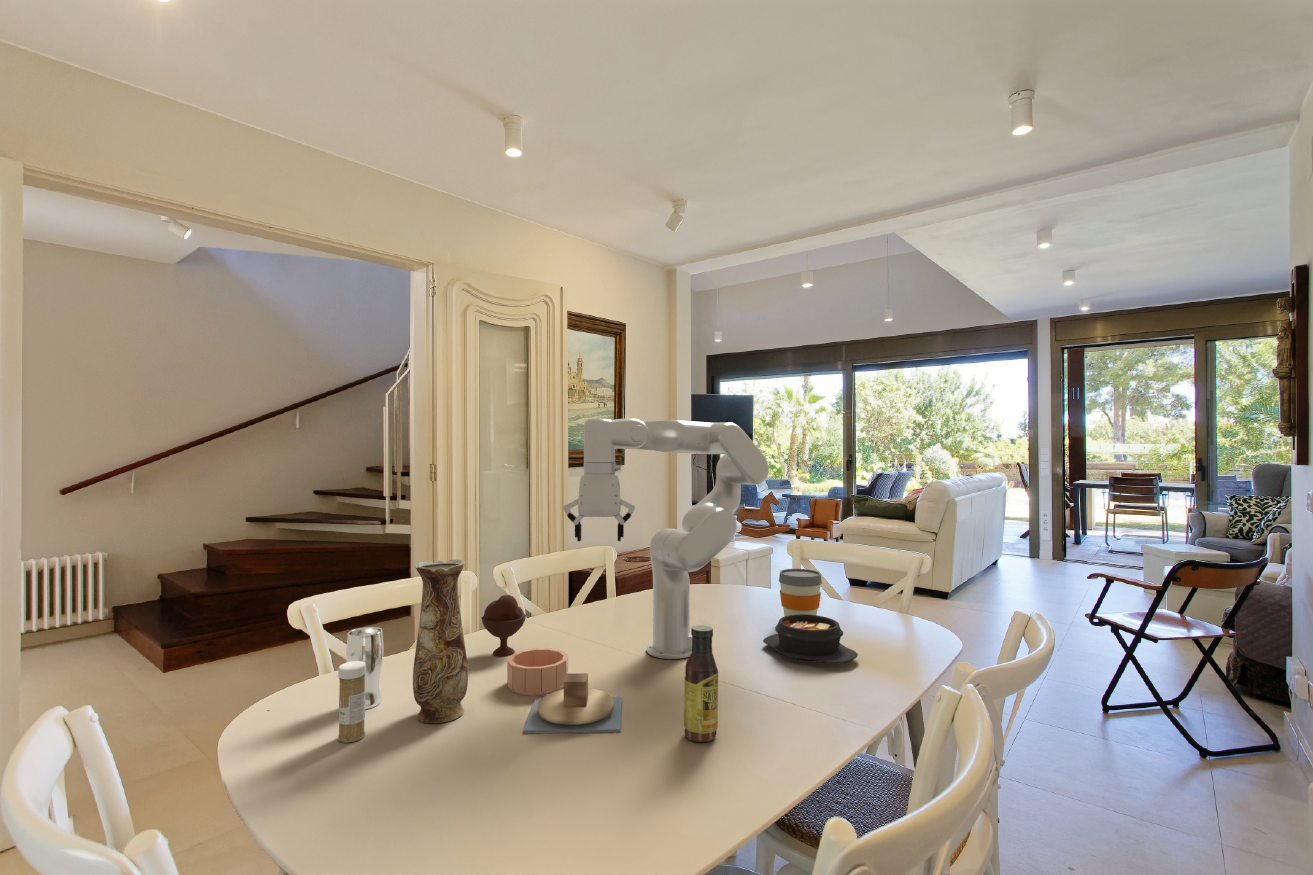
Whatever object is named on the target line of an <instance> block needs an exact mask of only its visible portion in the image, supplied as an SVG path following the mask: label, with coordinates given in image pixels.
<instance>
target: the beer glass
mask: <svg viewBox="0 0 1313 875" xmlns="http://www.w3.org/2000/svg"><path fill="white" fill-rule="evenodd" d="M346 640H347V641H346V651H345V652H346V663H347V662H352V661H362V662H364V663H365V664H366V673H365V711H366V710H370V709H373V708H375V707H377V706H379V705H380V704H381V702H382V698H381V697H382V696H381V692H380V679H381V673H382V666H383V659H384V637H383V628H381V627H378V626H365V627H358V628H355V629H352V630H350V631H348V632H347V639H346Z"/></svg>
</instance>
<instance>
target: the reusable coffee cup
mask: <svg viewBox="0 0 1313 875" xmlns="http://www.w3.org/2000/svg"><path fill="white" fill-rule="evenodd" d="M778 582H779V584H780V590H779V595H780V596H779V597H780V603H781V607H782V608H783V609H782V610H783V614H784V616H783V617H785V616H789V615H799V614H806V615H817V614H818V610H819V608H820V604H821V603H820V601H821V596H822V594H821V593H822V592H821V585H822V584H823V581H822V574H821V572H820V571H818V570H813V569H807V568H787V569H786V568H785V569H781V570H780V571H779V577H778ZM817 616H818V615H817Z"/></svg>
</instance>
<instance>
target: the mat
mask: <svg viewBox="0 0 1313 875" xmlns="http://www.w3.org/2000/svg"><path fill="white" fill-rule="evenodd" d="M542 698H543V697H536V698H535V700H534V702H533V705H532V706H531V707H532V708H531V709H530V712H529V715H528V717H527V720H526V722H525V726H524V727H523V731H522V733H523V734H550V733H551V734H556V733H557V734H559V733H561V734H563V733H567V734H568V733H571V734H572V733H575V734H576V733H621V723H622V722H621V720H622V702H623V696H612V698H613V700H614V709H613V711H612V712H611V714H609V715H608V716H607V717H605V718H603V719H601V720H598V721H595V722H591V723H586V724H577V725H565V724H557V723H553V722H549V721H547V720H545V719H543V718H542V717H540V715H539V714H538V702H539V701H540V699H542Z"/></svg>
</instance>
